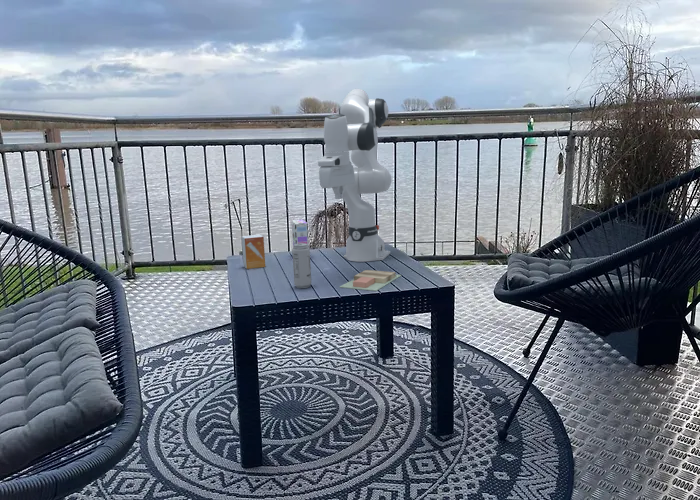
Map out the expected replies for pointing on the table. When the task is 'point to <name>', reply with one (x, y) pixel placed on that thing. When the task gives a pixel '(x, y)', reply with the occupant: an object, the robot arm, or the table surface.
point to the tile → (363, 282)
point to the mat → (372, 287)
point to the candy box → (300, 232)
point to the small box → (253, 251)
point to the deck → (376, 275)
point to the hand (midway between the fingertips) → (339, 198)
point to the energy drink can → (301, 265)
